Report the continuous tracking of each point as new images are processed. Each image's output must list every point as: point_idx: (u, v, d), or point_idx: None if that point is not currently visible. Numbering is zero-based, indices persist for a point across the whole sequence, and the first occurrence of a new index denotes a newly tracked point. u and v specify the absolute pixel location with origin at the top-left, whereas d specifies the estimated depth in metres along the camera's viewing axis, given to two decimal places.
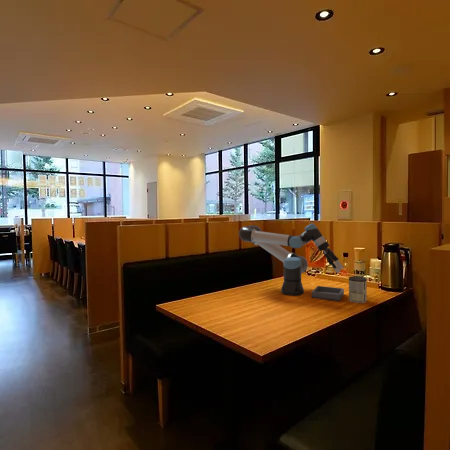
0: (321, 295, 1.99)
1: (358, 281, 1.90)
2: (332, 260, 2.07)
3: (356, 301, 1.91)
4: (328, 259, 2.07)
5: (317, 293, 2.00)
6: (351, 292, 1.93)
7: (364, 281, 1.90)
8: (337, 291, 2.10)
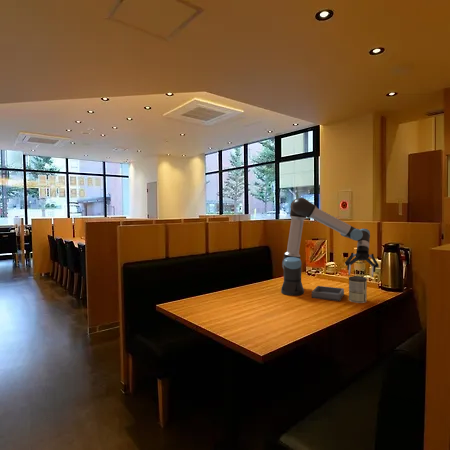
0: (321, 295, 1.99)
1: (358, 281, 1.90)
2: None
3: (356, 301, 1.91)
4: None
5: (317, 293, 2.00)
6: (351, 292, 1.93)
7: (364, 281, 1.90)
8: (337, 291, 2.10)
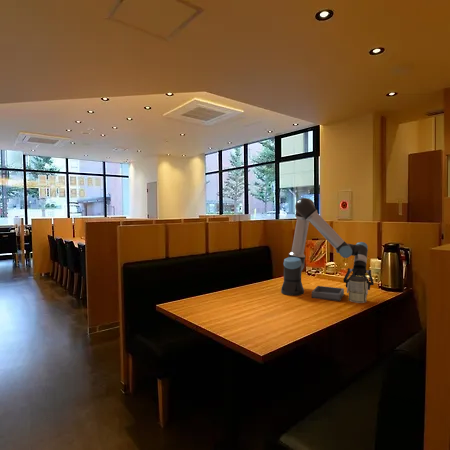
0: (321, 295, 1.99)
1: (358, 281, 1.90)
2: None
3: (356, 301, 1.91)
4: (372, 279, 1.94)
5: (317, 293, 2.00)
6: (351, 292, 1.93)
7: (364, 281, 1.90)
8: (337, 291, 2.10)
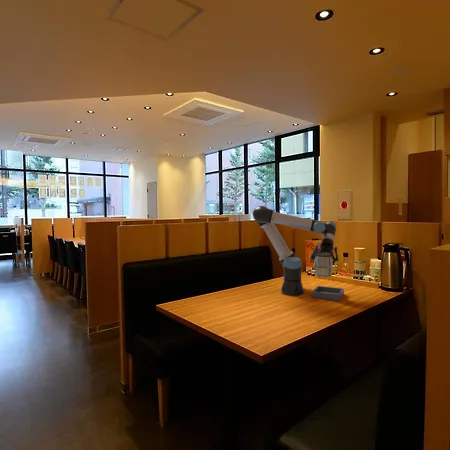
0: (321, 295, 1.99)
1: (323, 256, 2.01)
2: None
3: (321, 275, 2.02)
4: (337, 255, 2.05)
5: (317, 293, 2.00)
6: (317, 267, 2.04)
7: (329, 256, 2.01)
8: (337, 291, 2.10)
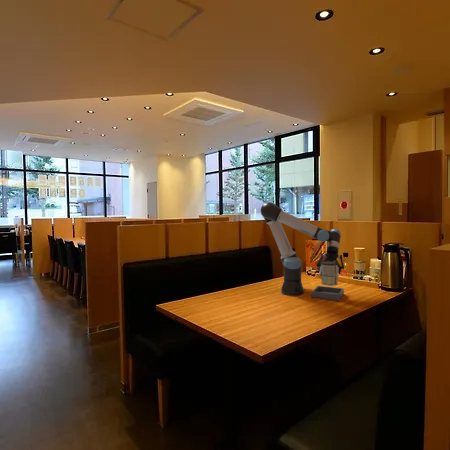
0: (321, 295, 1.99)
1: (329, 265, 2.00)
2: None
3: (327, 284, 2.01)
4: None
5: (317, 293, 2.00)
6: (323, 276, 2.03)
7: (335, 265, 2.00)
8: (337, 291, 2.10)
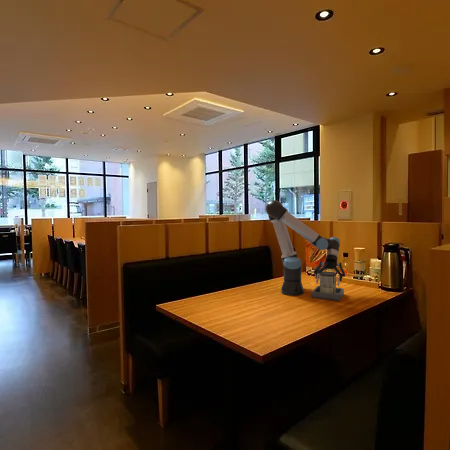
0: (321, 295, 1.99)
1: (327, 276, 2.00)
2: None
3: None
4: (343, 271, 2.05)
5: (317, 293, 2.00)
6: (321, 286, 2.04)
7: (333, 276, 2.01)
8: (337, 291, 2.10)
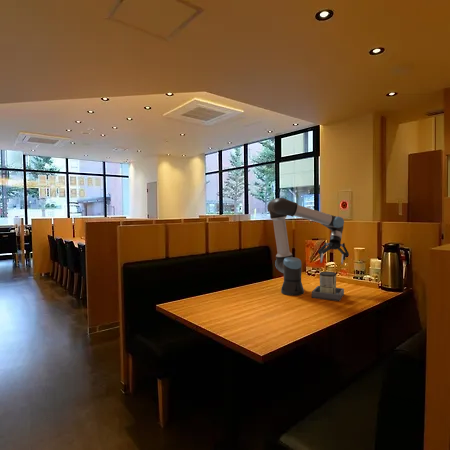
0: (321, 295, 1.99)
1: (327, 276, 2.00)
2: None
3: None
4: (347, 251, 2.16)
5: (317, 293, 2.00)
6: (321, 286, 2.04)
7: (333, 276, 2.01)
8: (337, 291, 2.10)
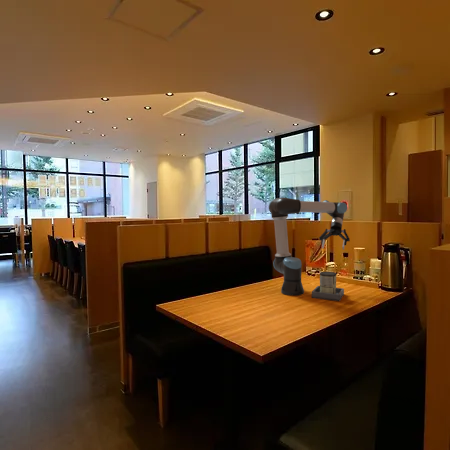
0: (321, 295, 1.99)
1: (327, 276, 2.00)
2: None
3: None
4: None
5: (317, 293, 2.00)
6: (321, 286, 2.04)
7: (333, 276, 2.01)
8: (337, 291, 2.10)
